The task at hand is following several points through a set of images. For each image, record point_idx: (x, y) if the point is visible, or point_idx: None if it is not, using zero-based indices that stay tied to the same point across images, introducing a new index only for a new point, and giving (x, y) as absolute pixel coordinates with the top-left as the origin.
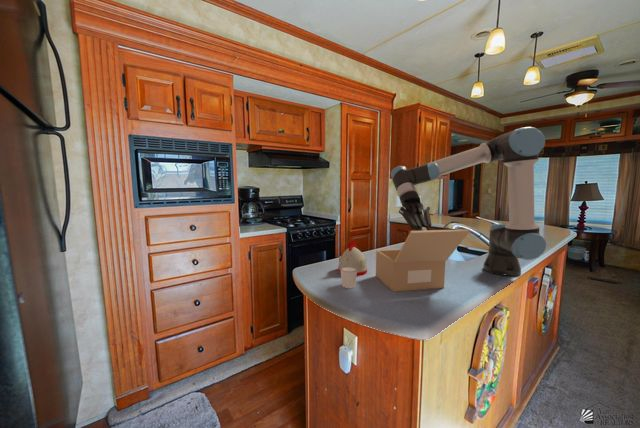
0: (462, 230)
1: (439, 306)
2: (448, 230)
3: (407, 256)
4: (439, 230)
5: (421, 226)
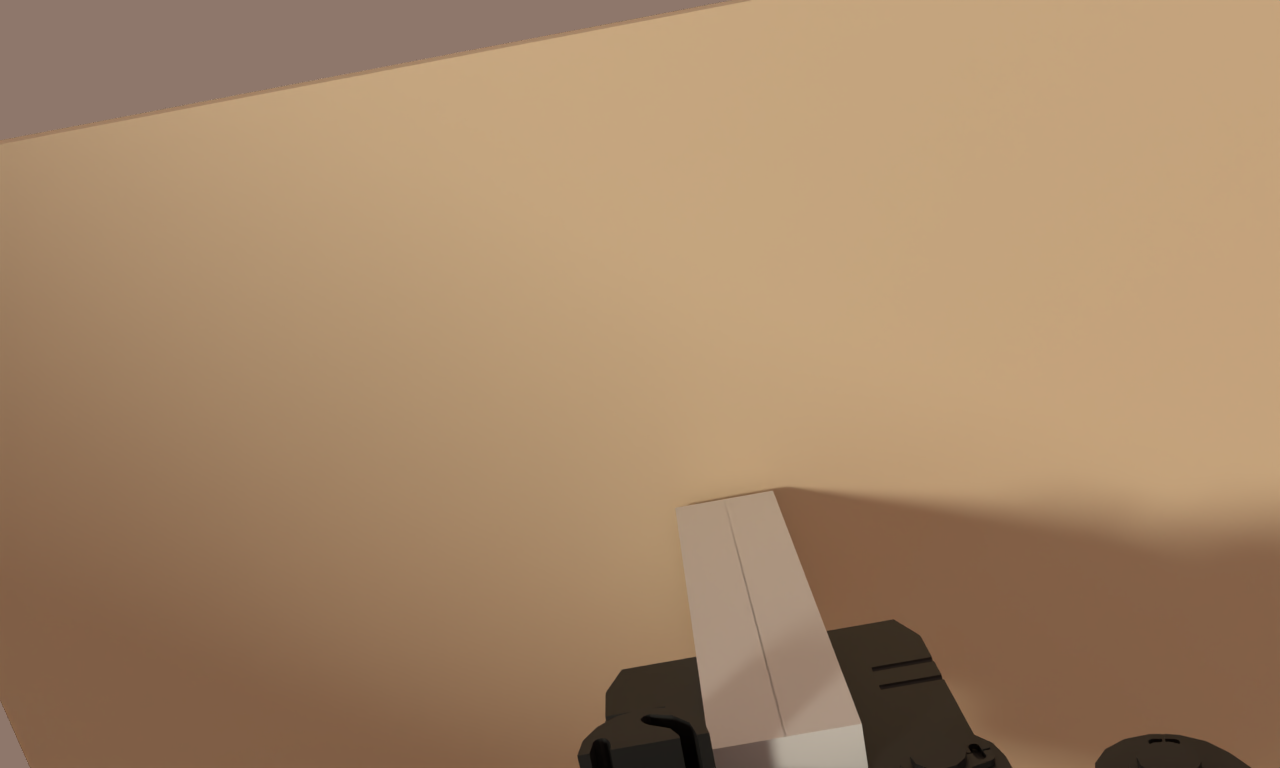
0: (1, 140)
1: None
2: (378, 73)
3: None
4: (626, 25)
5: (880, 763)
